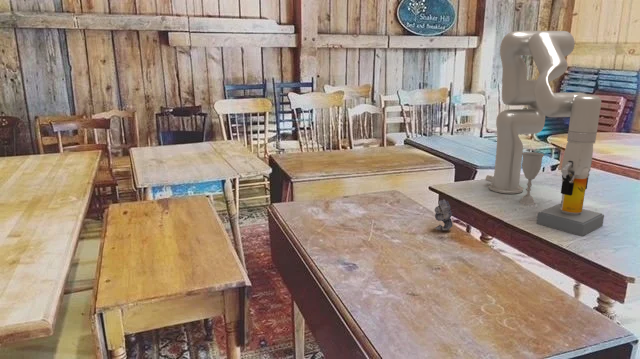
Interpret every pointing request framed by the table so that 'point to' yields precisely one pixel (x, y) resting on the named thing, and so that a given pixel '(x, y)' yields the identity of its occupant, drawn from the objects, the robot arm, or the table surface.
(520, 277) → the table surface
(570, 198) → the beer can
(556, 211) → the plinth
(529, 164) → the chalice
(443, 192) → the table surface
